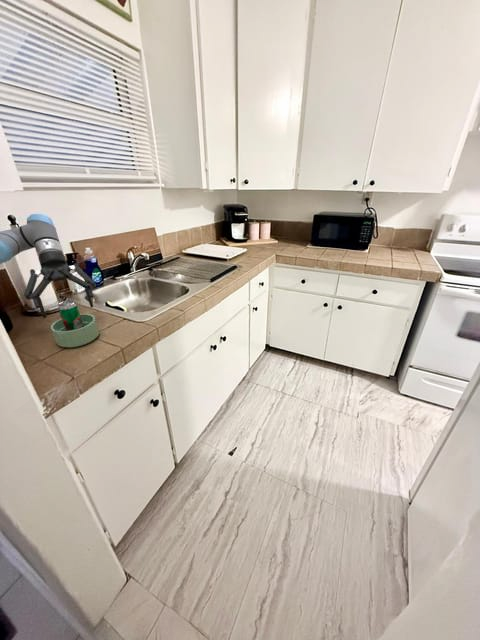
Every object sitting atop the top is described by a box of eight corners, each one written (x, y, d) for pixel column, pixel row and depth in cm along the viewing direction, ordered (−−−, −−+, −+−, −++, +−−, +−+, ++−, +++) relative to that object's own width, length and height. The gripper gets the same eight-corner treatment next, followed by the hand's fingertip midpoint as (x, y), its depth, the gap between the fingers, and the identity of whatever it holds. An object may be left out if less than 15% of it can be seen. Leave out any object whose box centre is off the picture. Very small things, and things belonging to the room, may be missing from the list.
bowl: (47, 347, 80) (40, 330, 78) (74, 328, 91) (69, 312, 88) (84, 350, 79) (78, 333, 76) (107, 330, 90) (102, 314, 87)
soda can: (81, 341, 82) (69, 306, 77) (65, 340, 83) (52, 306, 77) (89, 332, 87) (79, 300, 81) (74, 332, 87) (63, 299, 81)
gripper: (0, 254, 80) (18, 316, 76) (90, 245, 93) (109, 297, 89) (9, 267, 86) (25, 325, 82) (92, 256, 99) (109, 306, 95)
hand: (69, 310), depth 86 cm, fingers open, 13 cm apart
